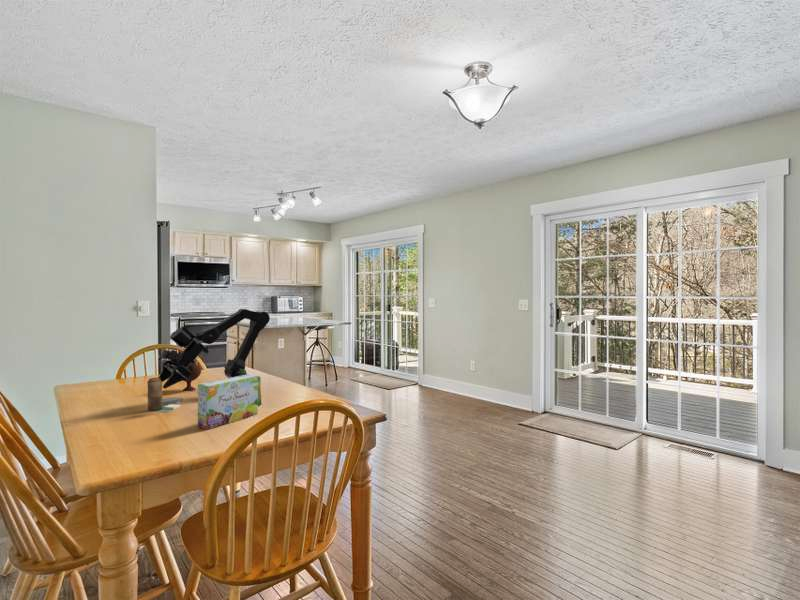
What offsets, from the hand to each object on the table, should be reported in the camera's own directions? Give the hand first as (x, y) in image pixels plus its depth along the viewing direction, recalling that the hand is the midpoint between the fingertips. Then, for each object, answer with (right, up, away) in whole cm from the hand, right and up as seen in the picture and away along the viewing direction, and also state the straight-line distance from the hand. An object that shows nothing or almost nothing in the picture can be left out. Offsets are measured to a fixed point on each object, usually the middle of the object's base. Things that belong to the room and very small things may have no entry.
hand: (159, 386), depth 169 cm
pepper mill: (-1, -9, -1) cm, 9 cm away
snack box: (+33, -10, -14) cm, 37 cm away
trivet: (-3, -9, +12) cm, 15 cm away
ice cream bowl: (-4, -9, +32) cm, 34 cm away
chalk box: (+31, -9, +6) cm, 33 cm away
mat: (+1, -9, 0) cm, 9 cm away
